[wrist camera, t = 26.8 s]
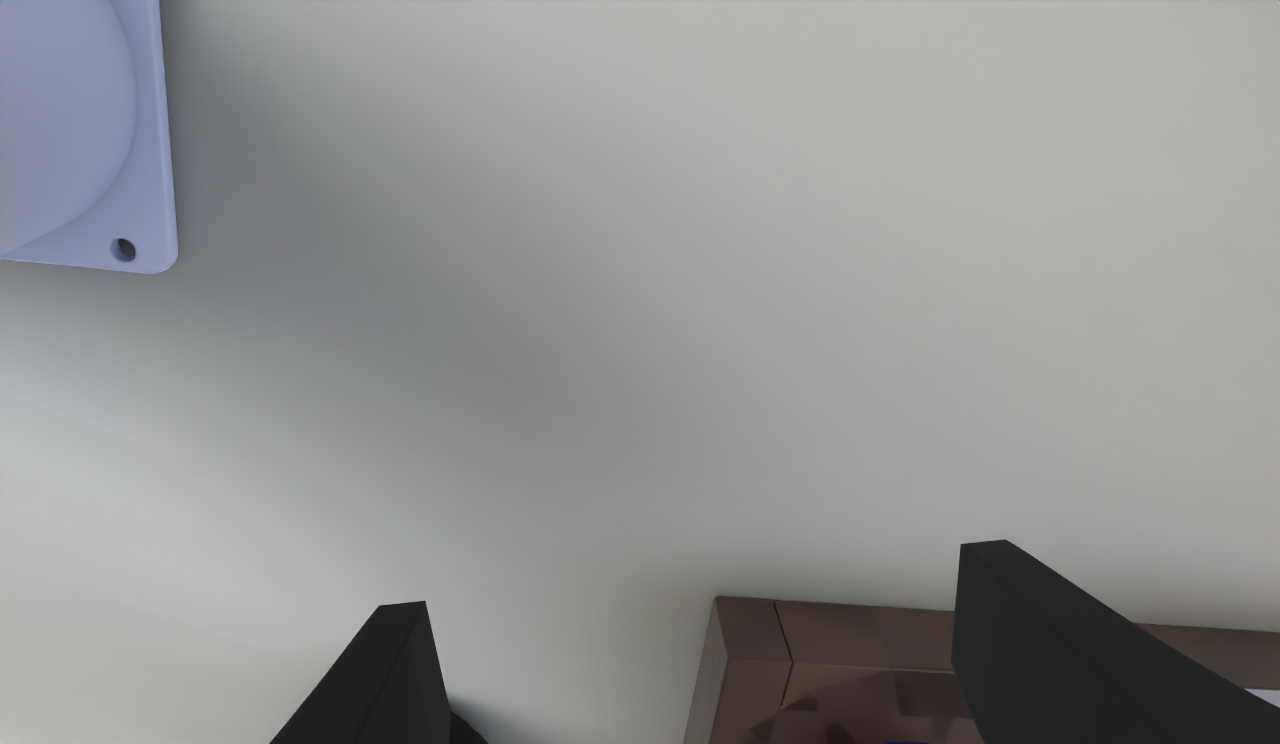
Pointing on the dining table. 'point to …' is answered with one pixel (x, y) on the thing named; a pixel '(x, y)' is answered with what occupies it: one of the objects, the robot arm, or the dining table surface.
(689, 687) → the dining table surface
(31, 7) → the robot arm
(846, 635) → the socket plate
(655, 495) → the dining table surface
